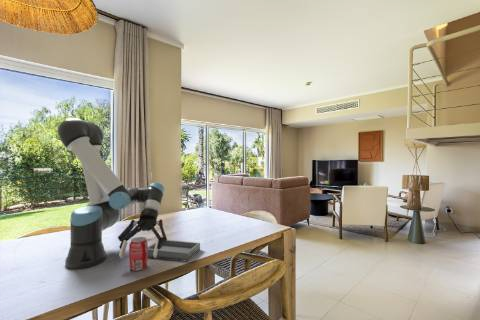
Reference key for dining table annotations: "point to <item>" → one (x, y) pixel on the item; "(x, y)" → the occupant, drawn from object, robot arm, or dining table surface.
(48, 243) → the dining table surface
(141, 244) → the soda can
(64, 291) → the dining table surface
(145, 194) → the robot arm
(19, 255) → the dining table surface
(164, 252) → the tray
